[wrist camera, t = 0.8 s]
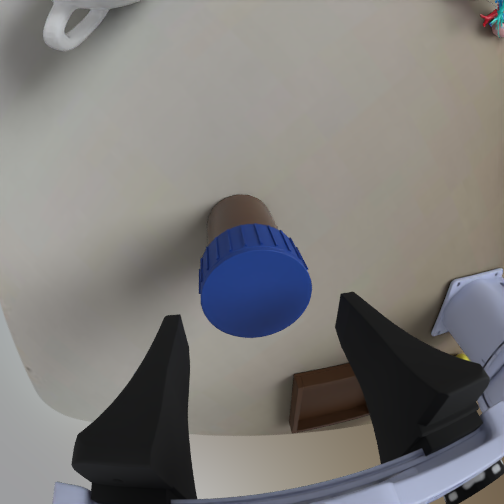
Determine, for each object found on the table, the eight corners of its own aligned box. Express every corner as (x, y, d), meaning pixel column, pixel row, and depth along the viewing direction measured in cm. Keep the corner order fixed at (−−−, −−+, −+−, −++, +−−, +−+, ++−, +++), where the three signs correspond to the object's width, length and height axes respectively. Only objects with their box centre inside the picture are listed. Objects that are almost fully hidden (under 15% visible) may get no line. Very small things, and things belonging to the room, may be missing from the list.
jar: (271, 191, 20) (303, 248, 14) (272, 249, 22) (299, 320, 16) (203, 198, 20) (203, 259, 13) (210, 256, 22) (215, 331, 16)
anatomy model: (524, 67, 12) (556, 39, 10) (475, -31, 8) (514, -47, 6) (482, 58, 16) (517, 32, 14) (434, -23, 13) (476, -42, 10)
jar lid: (300, 217, 15) (316, 242, 13) (297, 300, 18) (309, 330, 16) (192, 228, 15) (191, 256, 13) (206, 311, 18) (207, 344, 16)
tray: (388, 352, 32) (395, 364, 30) (367, 403, 37) (371, 414, 36) (293, 373, 30) (298, 388, 29) (289, 421, 36) (292, 433, 35)
